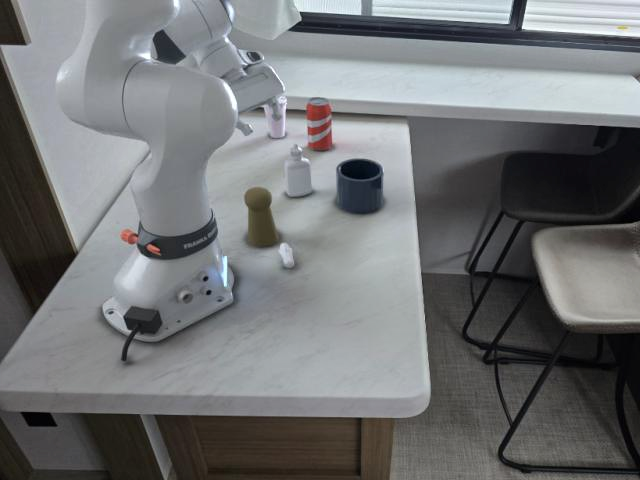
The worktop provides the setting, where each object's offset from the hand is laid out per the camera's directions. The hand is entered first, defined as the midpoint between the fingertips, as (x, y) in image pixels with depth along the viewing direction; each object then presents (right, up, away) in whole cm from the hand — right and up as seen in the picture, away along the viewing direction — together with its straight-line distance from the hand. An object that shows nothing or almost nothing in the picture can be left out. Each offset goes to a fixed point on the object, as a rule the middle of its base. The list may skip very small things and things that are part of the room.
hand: (265, 126), depth 121 cm
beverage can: (+9, +2, +24) cm, 25 cm away
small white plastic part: (+8, -31, -13) cm, 34 cm away
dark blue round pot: (+20, -16, +4) cm, 26 cm away
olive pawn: (+2, -25, -8) cm, 27 cm away
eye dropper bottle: (+6, -13, +6) cm, 16 cm away
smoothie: (-3, +6, +27) cm, 28 cm away
